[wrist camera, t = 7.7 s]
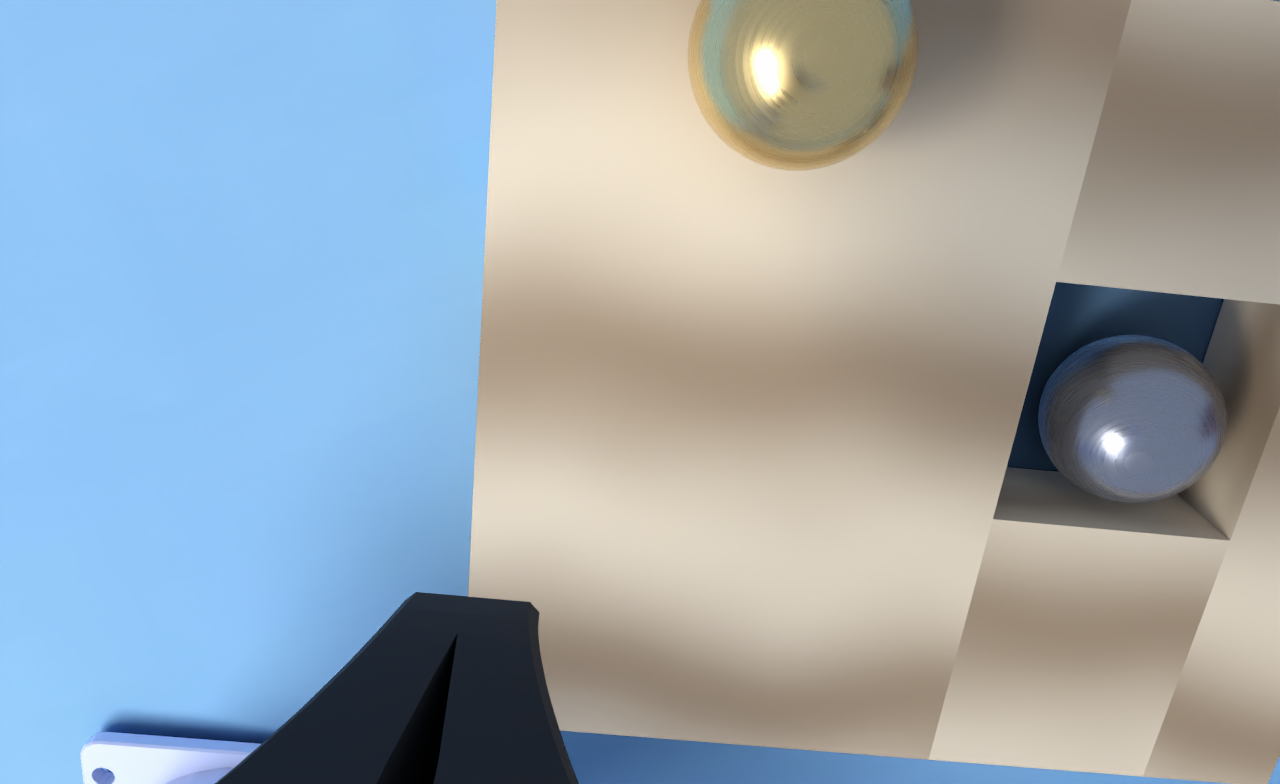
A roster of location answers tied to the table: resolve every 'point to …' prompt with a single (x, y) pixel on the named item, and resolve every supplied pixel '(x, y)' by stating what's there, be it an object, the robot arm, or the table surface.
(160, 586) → the table surface
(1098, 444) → the steel ball
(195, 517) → the table surface
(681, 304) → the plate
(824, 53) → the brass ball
